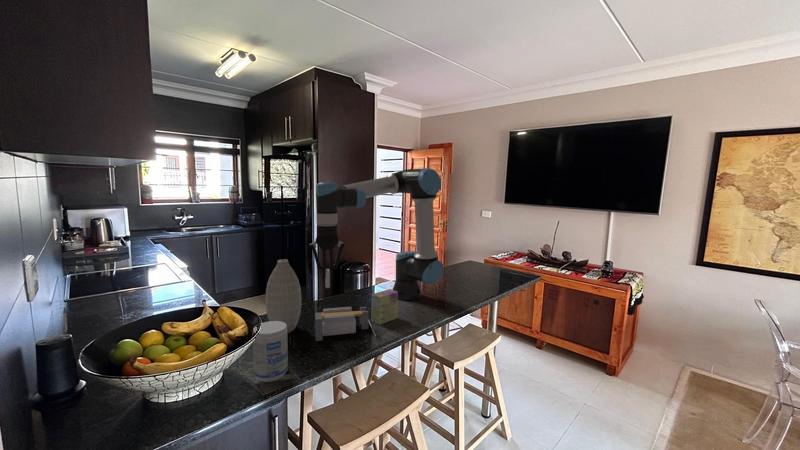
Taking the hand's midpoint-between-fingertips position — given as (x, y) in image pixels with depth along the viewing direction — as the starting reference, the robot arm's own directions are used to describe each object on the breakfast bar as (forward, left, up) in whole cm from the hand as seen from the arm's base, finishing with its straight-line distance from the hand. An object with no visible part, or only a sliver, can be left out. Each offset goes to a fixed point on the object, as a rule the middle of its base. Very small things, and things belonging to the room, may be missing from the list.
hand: (327, 286), depth 123 cm
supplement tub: (+18, +24, -18) cm, 35 cm away
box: (-24, -7, -19) cm, 31 cm away
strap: (-5, 0, -12) cm, 13 cm away
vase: (+16, -4, -18) cm, 25 cm away
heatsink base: (-5, 0, -18) cm, 19 cm away
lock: (+4, +6, -17) cm, 18 cm away
